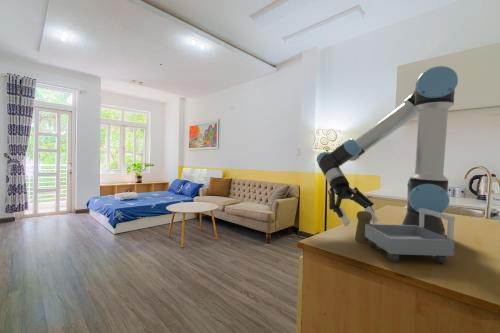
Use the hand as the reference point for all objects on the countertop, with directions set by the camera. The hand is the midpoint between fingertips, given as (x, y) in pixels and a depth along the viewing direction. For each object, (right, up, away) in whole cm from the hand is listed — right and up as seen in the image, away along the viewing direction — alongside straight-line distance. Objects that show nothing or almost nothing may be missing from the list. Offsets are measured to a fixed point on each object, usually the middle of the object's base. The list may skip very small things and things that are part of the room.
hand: (362, 223), depth 89 cm
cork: (0, -7, 0) cm, 7 cm away
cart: (+7, -7, -13) cm, 17 cm away
